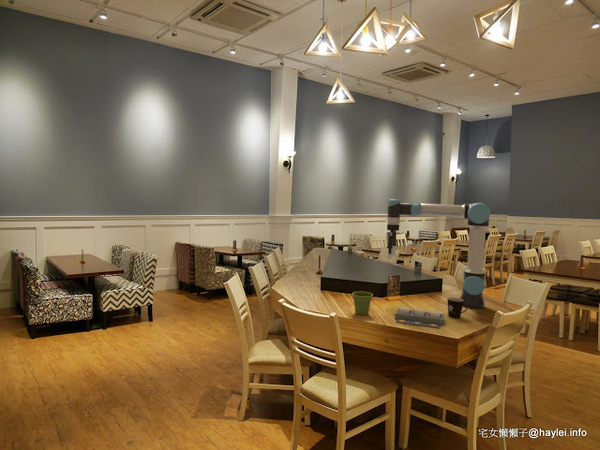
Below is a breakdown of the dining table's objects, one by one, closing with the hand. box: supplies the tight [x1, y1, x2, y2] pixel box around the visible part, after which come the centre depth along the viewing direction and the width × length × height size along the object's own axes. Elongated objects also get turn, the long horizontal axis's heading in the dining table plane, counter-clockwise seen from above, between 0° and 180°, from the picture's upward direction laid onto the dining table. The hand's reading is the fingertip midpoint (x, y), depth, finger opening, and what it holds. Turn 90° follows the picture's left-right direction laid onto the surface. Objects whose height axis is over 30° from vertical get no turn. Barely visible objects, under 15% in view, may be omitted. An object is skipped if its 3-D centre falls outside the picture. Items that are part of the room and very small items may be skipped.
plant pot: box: [351, 291, 374, 316], centre depth 244 cm, size 12×12×11 cm
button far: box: [400, 306, 411, 314], centre depth 240 cm, size 5×5×2 cm
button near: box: [429, 310, 441, 318], centre depth 234 cm, size 5×5×2 cm
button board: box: [394, 307, 445, 326], centre depth 237 cm, size 25×12×3 cm, turn 69°
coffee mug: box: [446, 297, 468, 319], centre depth 243 cm, size 12×9×10 cm
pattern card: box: [395, 319, 441, 329], centre depth 229 cm, size 22×6×1 cm, turn 69°
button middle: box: [414, 308, 426, 316], centre depth 237 cm, size 5×5×2 cm
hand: (391, 257), depth 273 cm, fingers open, 13 cm apart
